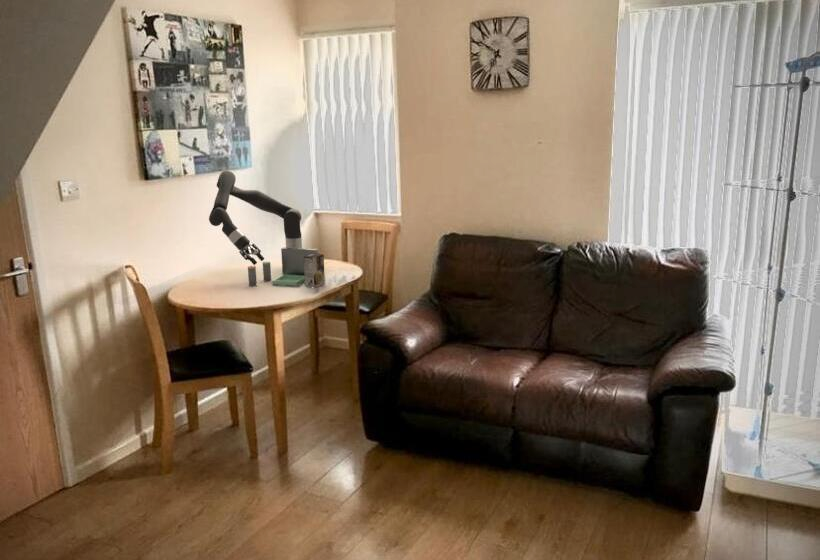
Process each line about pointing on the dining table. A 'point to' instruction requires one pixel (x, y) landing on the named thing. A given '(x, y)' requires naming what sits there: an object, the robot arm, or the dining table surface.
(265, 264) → the green-capped canister
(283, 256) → the label unit
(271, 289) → the dining table surface
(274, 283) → the green tray
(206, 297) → the dining table surface
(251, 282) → the terracotta-capped canister
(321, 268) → the coffee box
